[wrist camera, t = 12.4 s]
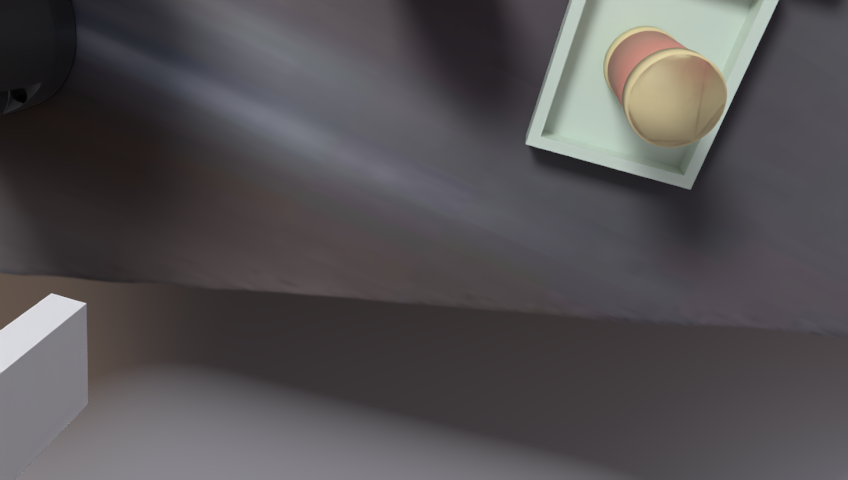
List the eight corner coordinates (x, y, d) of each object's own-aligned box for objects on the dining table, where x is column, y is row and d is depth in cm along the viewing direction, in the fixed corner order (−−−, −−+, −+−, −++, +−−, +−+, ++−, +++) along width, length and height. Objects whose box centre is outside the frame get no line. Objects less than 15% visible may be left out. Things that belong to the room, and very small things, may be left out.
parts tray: (525, 135, 45) (525, 144, 43) (592, -71, 39) (595, -71, 37) (683, 178, 45) (690, 189, 43) (774, -22, 38) (788, -21, 37)
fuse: (592, 89, 42) (612, 133, 33) (618, 17, 40) (647, 41, 30) (661, 108, 42) (702, 158, 32) (691, 37, 40) (744, 66, 30)
